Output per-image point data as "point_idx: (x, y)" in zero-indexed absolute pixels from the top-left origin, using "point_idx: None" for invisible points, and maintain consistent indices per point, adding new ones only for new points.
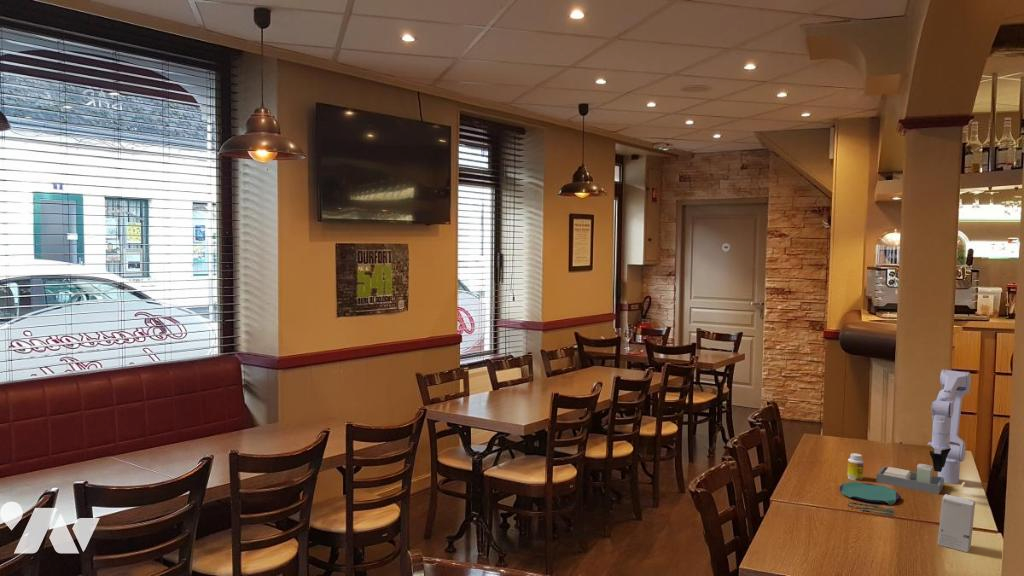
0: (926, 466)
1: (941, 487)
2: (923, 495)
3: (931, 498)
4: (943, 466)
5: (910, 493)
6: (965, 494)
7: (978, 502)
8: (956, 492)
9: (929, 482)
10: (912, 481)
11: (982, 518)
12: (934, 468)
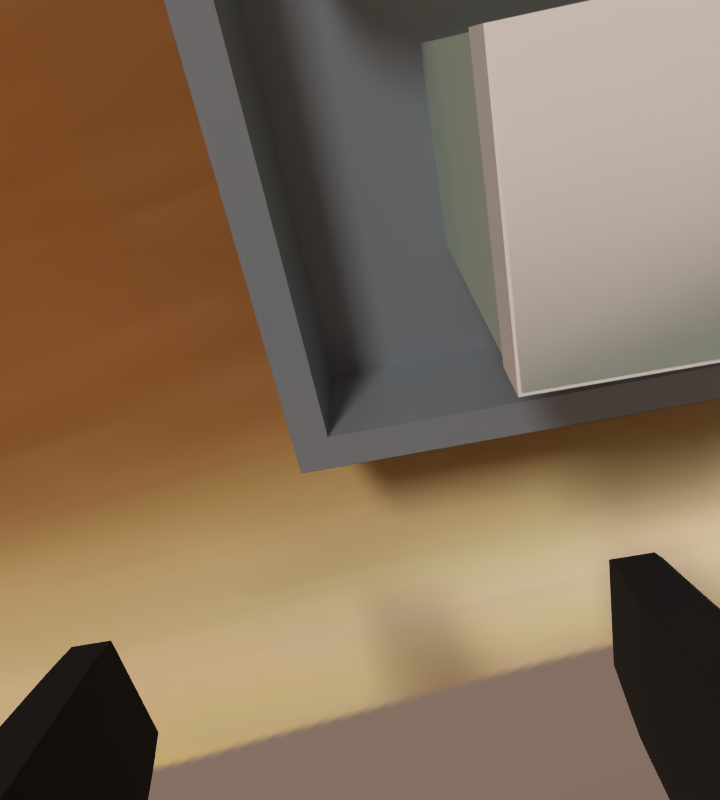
0: (660, 252)
1: None
2: (177, 253)
3: (149, 365)
4: (623, 677)
5: (85, 84)
6: (663, 542)
7: (462, 676)
8: (675, 464)
9: (461, 273)
10: (181, 51)
11: None
12: (29, 705)
